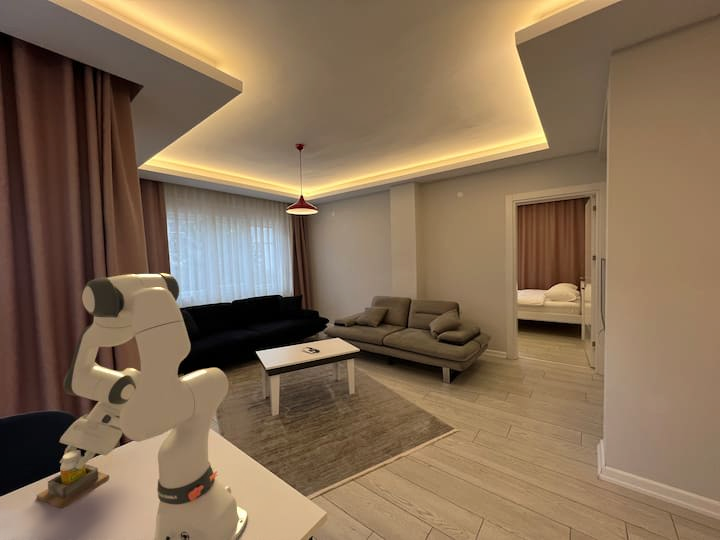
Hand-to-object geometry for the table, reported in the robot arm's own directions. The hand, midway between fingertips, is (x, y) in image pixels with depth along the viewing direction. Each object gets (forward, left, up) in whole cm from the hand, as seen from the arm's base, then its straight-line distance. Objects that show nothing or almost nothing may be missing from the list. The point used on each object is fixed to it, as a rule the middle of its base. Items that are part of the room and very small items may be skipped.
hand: (70, 466), depth 91 cm
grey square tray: (0, -1, -7) cm, 7 cm away
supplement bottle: (0, -1, -7) cm, 7 cm away
